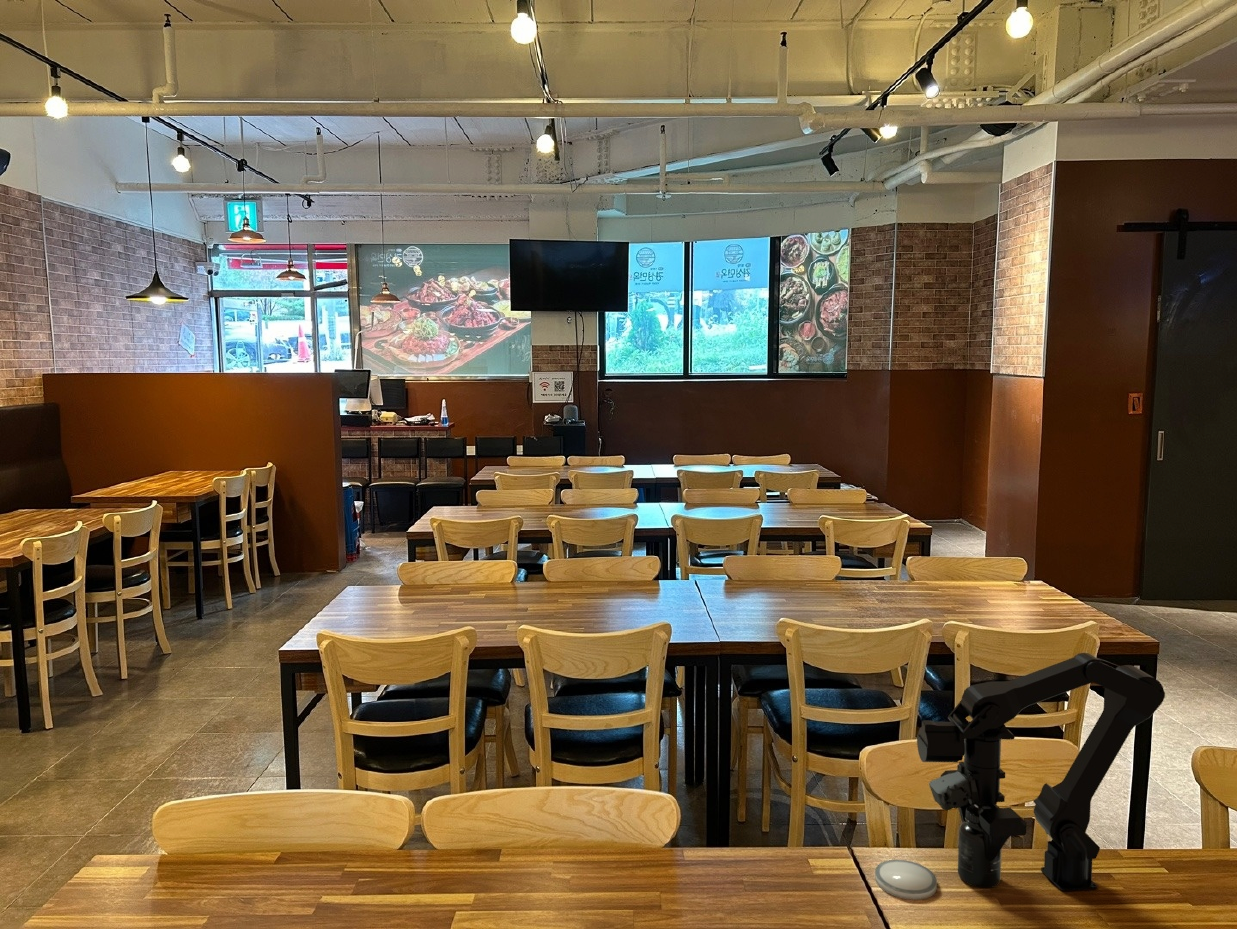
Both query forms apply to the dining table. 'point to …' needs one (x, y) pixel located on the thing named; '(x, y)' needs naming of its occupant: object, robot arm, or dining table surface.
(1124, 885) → the dining table surface
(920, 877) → the dish
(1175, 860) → the dining table surface
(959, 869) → the supplement bottle
